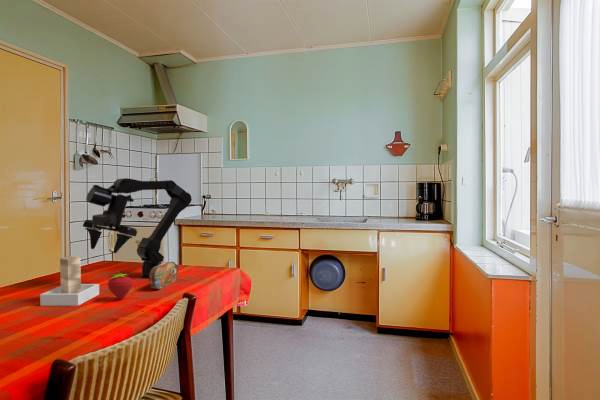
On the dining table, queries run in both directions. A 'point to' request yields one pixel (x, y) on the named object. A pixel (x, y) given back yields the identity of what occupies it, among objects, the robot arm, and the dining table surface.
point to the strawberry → (120, 285)
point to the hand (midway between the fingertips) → (103, 251)
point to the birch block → (70, 275)
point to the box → (69, 296)
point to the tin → (163, 275)
